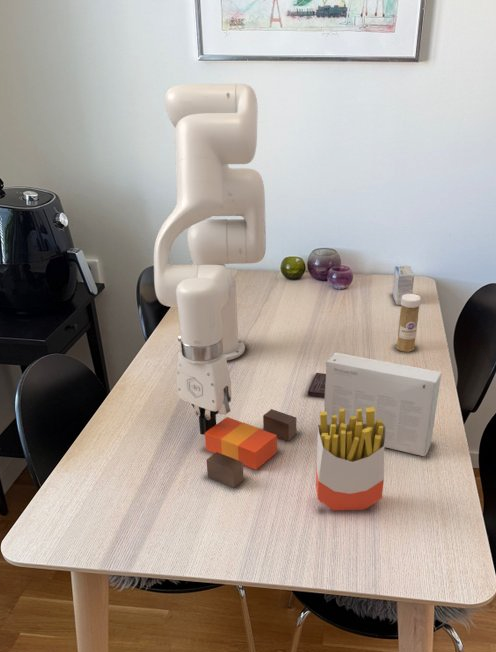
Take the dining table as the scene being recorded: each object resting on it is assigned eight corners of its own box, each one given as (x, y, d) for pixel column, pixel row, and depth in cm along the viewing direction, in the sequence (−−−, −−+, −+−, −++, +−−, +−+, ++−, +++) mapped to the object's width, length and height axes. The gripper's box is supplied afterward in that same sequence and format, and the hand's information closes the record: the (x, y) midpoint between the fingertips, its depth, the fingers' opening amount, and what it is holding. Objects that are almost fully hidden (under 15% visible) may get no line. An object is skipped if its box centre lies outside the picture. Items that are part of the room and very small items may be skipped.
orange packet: (205, 450, 130) (204, 432, 127) (228, 433, 134) (227, 416, 132) (256, 470, 124) (255, 452, 122) (277, 452, 129) (277, 434, 126)
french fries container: (380, 510, 114) (390, 421, 104) (317, 512, 114) (320, 423, 104) (376, 494, 118) (385, 406, 108) (315, 495, 118) (318, 408, 107)
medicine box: (411, 305, 187) (414, 275, 183) (395, 305, 188) (398, 275, 183) (407, 294, 194) (410, 265, 189) (391, 294, 194) (394, 265, 189)
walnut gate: (207, 477, 122) (206, 459, 120) (271, 425, 137) (271, 408, 134) (234, 488, 120) (233, 470, 117) (296, 434, 134) (296, 417, 132)
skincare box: (432, 443, 131) (443, 371, 122) (425, 457, 127) (436, 384, 118) (331, 419, 138) (334, 350, 129) (321, 433, 134) (324, 362, 125)
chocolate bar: (316, 372, 153) (395, 381, 149) (316, 376, 153) (394, 385, 150) (307, 391, 146) (390, 401, 142) (307, 395, 146) (390, 405, 142)
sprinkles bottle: (402, 353, 163) (408, 301, 155) (392, 346, 166) (397, 294, 159) (418, 350, 164) (424, 298, 157) (408, 343, 168) (414, 291, 160)
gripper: (157, 345, 122) (167, 429, 133) (221, 365, 115) (226, 453, 126) (184, 330, 128) (191, 413, 138) (247, 349, 121) (250, 435, 131)
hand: (208, 431), depth 132 cm, fingers closed
